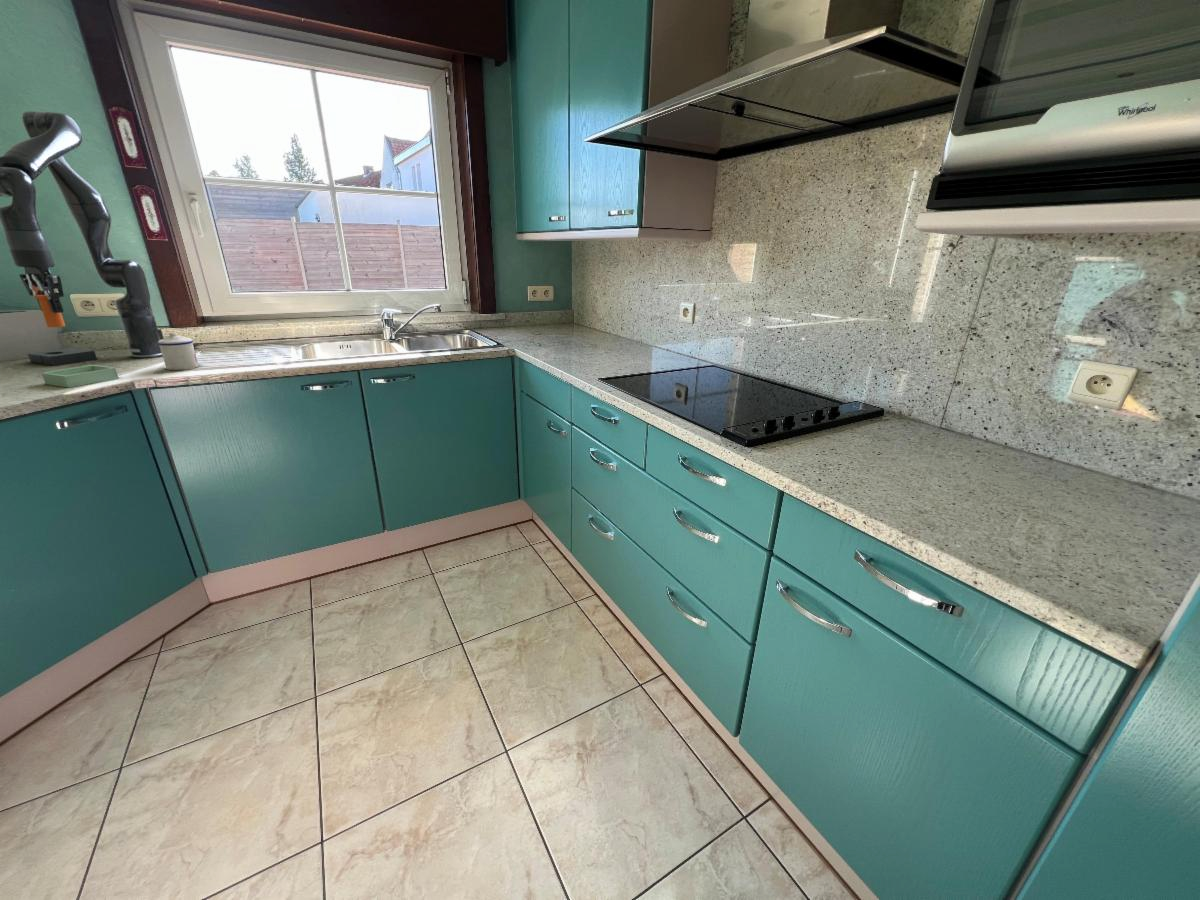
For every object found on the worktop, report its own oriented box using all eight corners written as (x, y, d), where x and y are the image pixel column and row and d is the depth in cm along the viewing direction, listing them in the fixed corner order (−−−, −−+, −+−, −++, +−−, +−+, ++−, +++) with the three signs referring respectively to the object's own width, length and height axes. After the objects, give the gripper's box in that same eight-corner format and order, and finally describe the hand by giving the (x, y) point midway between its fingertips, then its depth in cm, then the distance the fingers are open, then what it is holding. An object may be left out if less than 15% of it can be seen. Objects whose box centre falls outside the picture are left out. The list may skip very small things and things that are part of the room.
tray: (96, 375, 153) (93, 364, 152) (118, 378, 151) (115, 367, 149) (45, 384, 143) (41, 372, 141) (68, 387, 140) (64, 376, 139)
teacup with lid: (205, 366, 168) (196, 332, 164) (175, 371, 160) (164, 335, 156) (185, 362, 173) (175, 329, 168) (154, 367, 165) (143, 332, 161)
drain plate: (75, 356, 177) (72, 347, 176) (97, 359, 174) (94, 350, 173) (30, 362, 166) (26, 353, 165) (52, 365, 163) (49, 356, 162)
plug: (62, 325, 146) (51, 294, 143) (72, 326, 144) (62, 295, 141) (40, 326, 142) (29, 295, 139) (51, 327, 140) (40, 295, 137)
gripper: (63, 249, 137) (84, 312, 143) (31, 248, 141) (54, 309, 147) (26, 248, 130) (51, 314, 136) (-5, 247, 134) (20, 311, 141)
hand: (52, 311), depth 142 cm, fingers closed on plug, 4 cm apart
